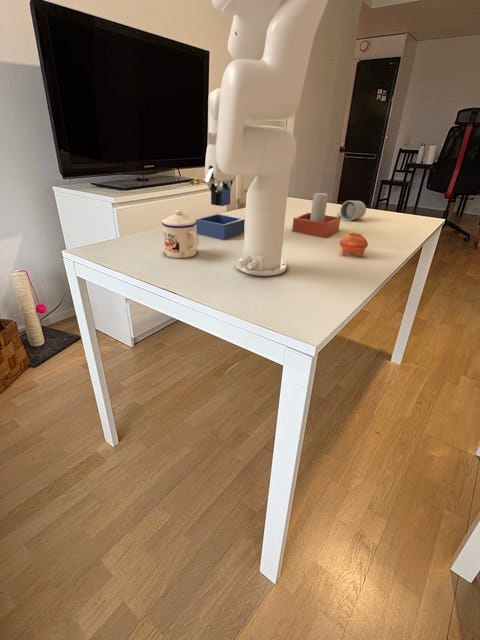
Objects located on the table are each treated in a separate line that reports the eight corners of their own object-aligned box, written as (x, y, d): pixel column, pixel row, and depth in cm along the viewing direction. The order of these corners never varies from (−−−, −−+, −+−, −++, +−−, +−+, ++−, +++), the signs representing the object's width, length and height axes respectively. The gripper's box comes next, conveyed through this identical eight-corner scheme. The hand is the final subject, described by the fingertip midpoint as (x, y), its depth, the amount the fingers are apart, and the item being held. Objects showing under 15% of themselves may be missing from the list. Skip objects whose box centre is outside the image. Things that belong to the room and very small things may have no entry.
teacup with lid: (157, 252, 95) (153, 209, 89) (183, 246, 101) (181, 205, 95) (184, 264, 88) (182, 218, 82) (210, 256, 94) (210, 213, 88)
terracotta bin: (325, 237, 115) (327, 223, 113) (292, 231, 121) (293, 218, 119) (338, 230, 125) (340, 217, 122) (306, 224, 130) (308, 212, 128)
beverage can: (322, 231, 120) (328, 195, 114) (308, 230, 121) (313, 194, 115) (322, 228, 124) (327, 193, 118) (309, 227, 125) (313, 192, 119)
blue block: (222, 206, 109) (222, 191, 107) (210, 204, 111) (210, 189, 109) (230, 204, 112) (230, 189, 110) (219, 202, 114) (219, 188, 112)
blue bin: (224, 239, 109) (224, 225, 107) (196, 233, 114) (195, 219, 112) (244, 232, 117) (244, 218, 115) (217, 226, 123) (217, 213, 121)
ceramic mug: (365, 219, 141) (369, 200, 138) (354, 222, 136) (358, 202, 133) (343, 215, 148) (346, 196, 145) (332, 217, 143) (335, 198, 140)
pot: (352, 260, 95) (352, 235, 93) (333, 257, 102) (333, 234, 100) (374, 255, 98) (374, 231, 96) (354, 254, 105) (354, 231, 103)
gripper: (227, 139, 110) (226, 198, 119) (193, 140, 98) (194, 206, 107) (246, 141, 107) (244, 201, 116) (213, 141, 94) (213, 209, 103)
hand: (220, 203), depth 111 cm, fingers closed on blue block, 4 cm apart
